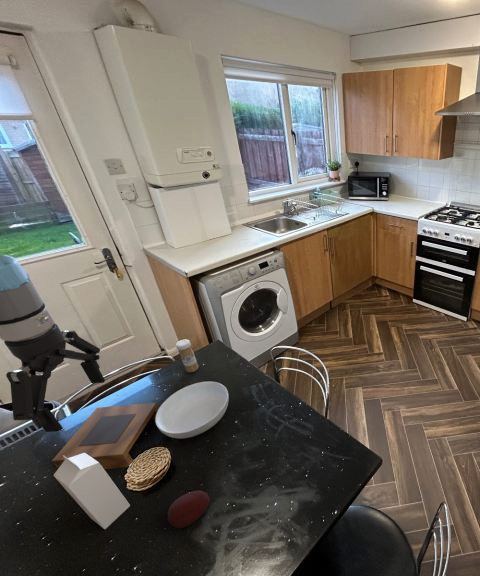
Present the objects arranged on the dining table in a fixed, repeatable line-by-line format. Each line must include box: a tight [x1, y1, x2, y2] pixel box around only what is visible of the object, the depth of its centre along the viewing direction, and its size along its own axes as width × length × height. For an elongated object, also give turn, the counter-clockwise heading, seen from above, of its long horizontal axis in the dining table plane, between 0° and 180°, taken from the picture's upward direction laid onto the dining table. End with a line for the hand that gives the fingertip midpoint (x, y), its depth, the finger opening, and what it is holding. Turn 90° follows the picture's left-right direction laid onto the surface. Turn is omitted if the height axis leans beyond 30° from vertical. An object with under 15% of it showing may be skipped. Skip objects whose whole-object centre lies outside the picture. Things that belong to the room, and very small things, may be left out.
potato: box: [167, 490, 211, 529], centre depth 78 cm, size 8×9×6 cm
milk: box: [53, 453, 131, 530], centre depth 74 cm, size 6×6×22 cm
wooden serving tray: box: [51, 402, 160, 470], centre depth 95 cm, size 18×18×6 cm
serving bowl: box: [154, 381, 230, 439], centre depth 102 cm, size 21×21×7 cm
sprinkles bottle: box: [175, 338, 199, 373], centre depth 121 cm, size 5×5×14 cm
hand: (78, 404), depth 72 cm, fingers open, 13 cm apart
